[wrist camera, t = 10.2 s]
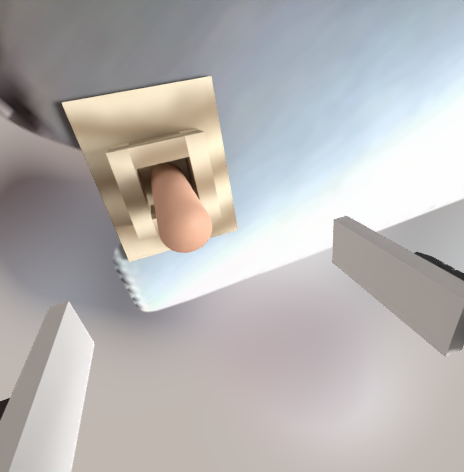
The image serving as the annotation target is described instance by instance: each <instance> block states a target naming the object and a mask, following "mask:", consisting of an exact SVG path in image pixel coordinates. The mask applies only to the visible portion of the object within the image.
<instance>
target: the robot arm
mask: <svg viewBox="0 0 464 472" xmlns="http://www.w3.org/2000/svg"><path fill="white" fill-rule="evenodd" d="M333 263H334V264H335V265H336V266H337V267H338V268H340V269H341V270H342V271H343V272H345V273H346V274H347V275H348V276H349V277H350V278H352V279H353V280H354V281H355V282H356V283H358V284H359V285H360V286H361V287H362V288H364V289H365V290H366V291H367V292H368V293H370V294H371V295H372V296H373V297H375V298H376V299H377V300H378V301H379V302H380V303H382V304H383V305H384V306H385V307H386V308H388V309H389V310H390V311H391V312H392V313H394V314H395V315H396V316H397V317H398V318H399V319H401V320H402V321H403V322H404V323H405V324H407V325H408V326H409V327H410V328H411V329H413V330H414V331H415V332H416V333H417V334H419V335H420V336H421V337H422V338H424V339H425V340H426V341H427V342H428V343H429V344H431V345H432V346H433V347H434V348H435V349H436V350H438V351H439V352H440V353H441V354H443V355H444V356H445V357H446V356H448V355H451V354H453V353H455V352H457V351H459V350H461V349H462V348H463V345H464V273H462V272H460V271H458V270H455V269H454V268H452V267H451V266H448V265H445V264H444V263H443V262H441V261H439V260H437V259H436V258H434V257H432V256H429V255H425V254H422V253H418V252H416V253H412V252H411V251H409V250H407V249H405V248H403V247H401V246H400V245H398V244H396V243H394V242H392V241H391V240H389V239H387V238H385V237H383V236H382V235H380V234H378V233H376V232H375V231H373V230H371V229H369V228H368V227H366V226H364V225H362V224H360V223H359V222H357V221H355V220H353V219H351V218H350V217H348V216H344V217H341V218H338V219H334V229H333ZM94 344H95V343H94V342H93V340H92V338H91V337H90V335H89V333H88V332H87V330H86V329H85V327H84V325H83V324H82V322H81V320H80V319H79V317H78V315H77V314H76V312H75V311H74V309H73V308H72V306H71V304H70V303H69V301H67V302H64V303H60V304H57V305H54V306H51V307H49V309H48V312H47V314H46V316H45V319H44V321H43V323H42V326H41V328H40V330H39V333H38V335H37V337H36V339H35V342H34V344H33V346H32V349H31V351H30V353H29V356H28V358H27V360H26V362H25V365H24V367H23V369H22V372H21V374H20V376H19V379H18V381H17V383H16V386H15V388H14V390H13V392H12V395H11V397H10V398H8V399H6V400H3V401H0V472H71V470H72V465H73V459H74V454H75V448H76V443H77V437H78V432H79V426H80V421H81V415H82V410H83V404H84V399H85V393H86V388H87V382H88V377H89V372H90V366H91V361H92V355H93V350H94Z"/></svg>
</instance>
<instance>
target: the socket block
mask: <svg viewBox="0 0 464 472" xmlns="http://www.w3.org/2000/svg"><path fill="white" fill-rule="evenodd" d="M62 105H63V108H64V110H65V112H66V115H67V117H68V119H69V122H70V124H71V126H72V129H73V131H74V133H75V136H76V138H77V140H78V143H79V145H80V147H81V150H82V152H83V154H84V156H85V159H86V161H87V164H88V166H89V168H90V171H91V173H92V176H93V178H94V180H95V183H96V185H97V187H98V190H99V192H100V194H101V197H102V199H103V201H104V203H105V206H106V208H107V210H108V213H109V215H110V218H111V220H112V222H113V224H114V227H115V229H116V232H117V234H118V236H119V239H120V241H121V244H122V246H123V248H124V251H125V253H126V255H127V258H128V260H129V262H131V261H134V260H138V259H141V258H145V257H148V256H151V255H155V254H158V253H161V252H165V251H168V250H171V249H169V248H168V247H166V246H165V245H164V243H163V242H162V241H161V239H160V236H159V231H158V225H157V219H156V212H155V206H154V200H153V193H152V187H151V181H150V174H151V171H152V169H153V168H154V166H156V165H157V164H160V163H164V162H171V163H173V164H175V165H177V166H178V167H179V168H180V170H181V172H182V173H183V175H184V176H185V178H186V179H187V181H188V183H189V184H190V186H191V187H192V189H193V191H194V192H195V194H196V195H197V197H198V198H199V200H200V202H201V203H202V205H203V206H204V208H205V210H206V211H207V213H208V214H209V216H210V218H211V221H212V232H211V235H210V238H212V237H215V236H219V235H222V234H225V233H229V232H232V231H235V230H238V228H237V222H236V216H235V211H234V205H233V199H232V193H231V188H230V182H229V176H228V170H227V165H226V159H225V153H224V147H223V141H222V136H221V130H220V124H219V118H218V113H217V107H216V101H215V95H214V90H213V84H212V78H211V76H208V77H203V78H197V79H192V80H186V81H180V82H175V83H169V84H163V85H158V86H152V87H147V88H141V89H135V90H130V91H124V92H119V93H113V94H107V95H102V96H96V97H90V98H85V99H79V100H74V101H68V102H62Z"/></svg>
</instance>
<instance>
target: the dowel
mask: <svg viewBox="0 0 464 472" xmlns="http://www.w3.org/2000/svg"><path fill="white" fill-rule="evenodd" d="M150 181H151V187H152V193H153V200H154V206H155V212H156V219H157V225H158V231H159V236H160V239H161V241H162V242H163V243H164V245H165V246H166V247H168V248H169V249H171V250H173V251H176V252H181V253H187V252H192V251H195V250H197V249H199V248H200V247H202V246H203V245H204V244H205V243H206V242H207V241H208V239H209V238H210V235H211V232H212V221H211V218H210V216H209V214H208V213H207V211H206V210H205V208H204V206H203V205H202V203H201V202H200V200H199V198H198V197H197V195H196V194H195V192H194V191H193V189H192V187H191V186H190V184H189V183H188V181H187V179H186V178H185V176H184V175H183V173H182V172H181V170H180V168H179V167H178V166H177V165H175V164H173V163H171V162H164V163H160V164H157V165H156V166H154V168H153V169H152V171H151V174H150Z"/></svg>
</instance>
